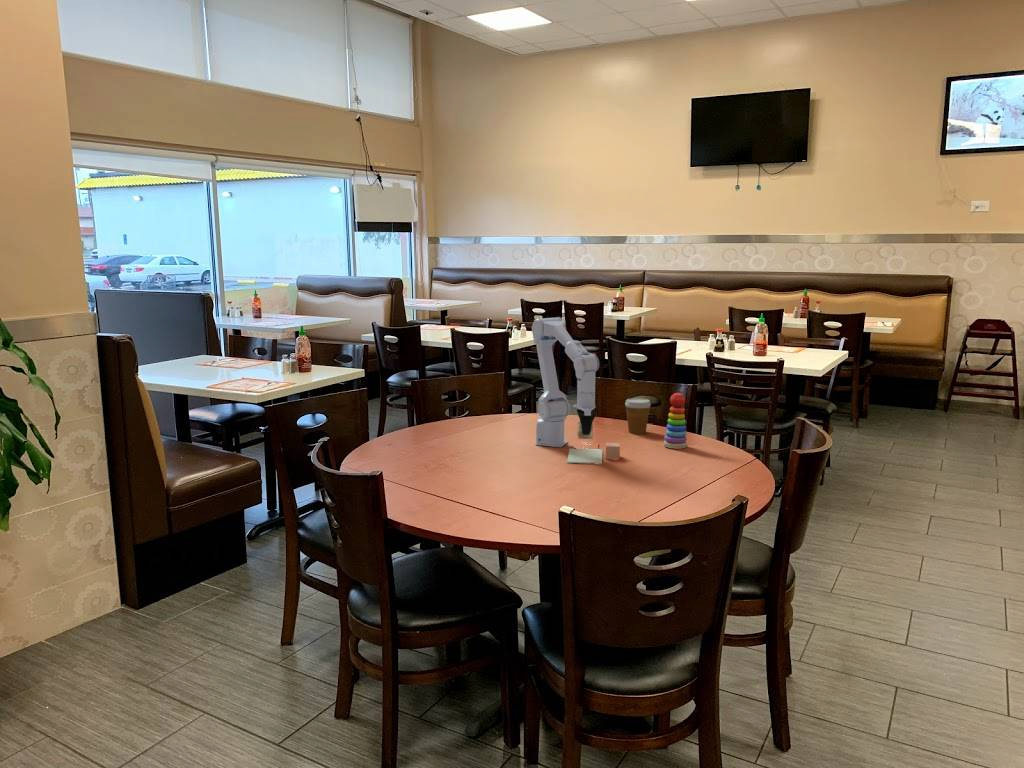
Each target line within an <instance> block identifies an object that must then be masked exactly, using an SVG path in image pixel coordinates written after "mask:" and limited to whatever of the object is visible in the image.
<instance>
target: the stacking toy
mask: <svg viewBox="0 0 1024 768" xmlns="http://www.w3.org/2000/svg"><path fill="white" fill-rule="evenodd" d="M669 403H670V404H671V406H670V408H669V413H668V419H667V425H666V428H667V429H666V430H665V435H664V436H663V437H664V441H663V446H664V447H665V448H667V447H668V449H672V448H673V450H682V448H683V449H686V448H687V446H688V442H687V438H688V437H687V430H686V429H687V426H686V419H685V418H686V416H685V412H686V409H685V407H683V406H684V405H685V404H686V398H685V396H684V394H683V393H680V392H675V393H673V394H671V396H670V399H669Z"/></svg>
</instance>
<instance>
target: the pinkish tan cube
mask: <svg viewBox="0 0 1024 768" xmlns="http://www.w3.org/2000/svg"><path fill="white" fill-rule="evenodd" d="M620 455H621V444H620V442H605V460H606V459H621V458H620V457H621V456H620Z"/></svg>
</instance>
